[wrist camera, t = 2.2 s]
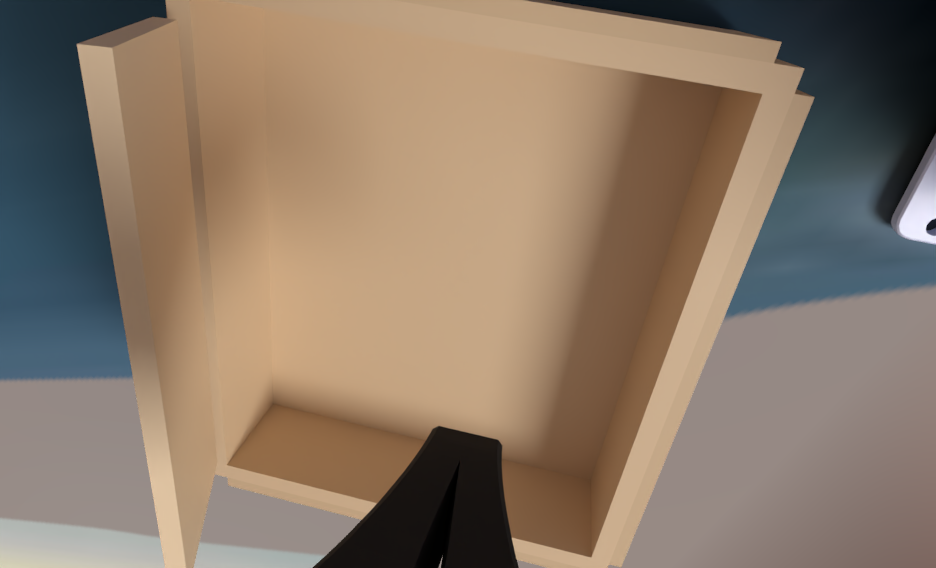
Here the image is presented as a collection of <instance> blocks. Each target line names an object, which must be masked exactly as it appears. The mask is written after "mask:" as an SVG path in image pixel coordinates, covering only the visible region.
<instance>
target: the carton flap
mask: <svg viewBox="0 0 936 568" xmlns="http://www.w3.org/2000/svg"><path fill="white" fill-rule="evenodd" d="M77 49H78V55H79V61H80V67H81V73H82V78H83V84H84V90H85V96H86V102H87V108H88V114H89V120H90V126H91V132H92V138H93V144H94V149H95V155H96V161H97V167H98V173H99V179H100V185H101V191H102V197H103V203H104V209H105V214H106V220H107V226H108V232H109V238H110V244H111V250H112V256H113V262H114V268H115V274H116V280H117V285H118V291H119V297H120V303H121V309H122V315H123V321H124V327H125V333H126V339H127V345H128V350H129V356H130V362H131V368H132V374H133V380H134V386H135V392H136V398H137V403H138V409H139V416H140V421H141V427H142V433H143V439H144V445H145V451H146V457H147V463H148V469H149V474H150V480H151V486H152V492H153V498H154V504H155V510H156V515H157V522H158V528H159V534H160V540H161V546H162V552H163V557H164V563H165V568H193V567H194V563H195V558H196V554H197V550H198V545H199V541H200V536H201V532H202V528H203V523H204V518H205V515H206V510H207V506H208V501H209V497H210V492H211V488H212V484H213V479H214V475H215V471H216V466H217V453H216V442H215V431H214V420H213V409H212V398H211V387H210V376H209V365H208V354H207V343H206V332H205V320H204V309H203V298H202V287H201V276H200V265H199V254H198V243H197V232H196V221H195V210H194V199H193V188H192V177H191V166H190V155H189V144H188V133H187V122H186V111H185V100H184V89H183V77H182V66H181V55H180V44H179V33H178V22H177V20H175V19H167V18H159V17H151V18H148V19H145V20H142V21H140V22H137V23H134V24H131V25H128V26H126V27H123V28H120V29H117V30H114V31H112V32H109V33H106V34H103V35H100V36H97V37H95V38H92V39H89V40H86V41H83V42H81V43H78V44H77Z"/></svg>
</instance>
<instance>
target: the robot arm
mask: <svg viewBox="0 0 936 568" xmlns="http://www.w3.org/2000/svg"><path fill="white" fill-rule="evenodd" d="M935 218H936V134H935V136H934V137H933V139H932V141H931V143H930V145H929V147H928V149H927V151H926V153H925V155H924V157H923V158H922V160H921V162H920V164H919V166H918V168H917V170H916V172H915V174H914V176H913V178H912V180H911V181H910V183H909V185H908V187H907V189H906V191H905V193H904V195H903V197H902V199H901V201H900V202H899V204H898V206H897V208H896V210H895V212H894V214H893V216H892V220H891V225H892V228H893V229H894V231H895V232H896V233H898V234H899V235H900V236H901V237H904V238H906V239H910V240H915V241H920V242H926V243H931V244H936V228H934V229H932V230H926V226H927V224H928V223H929V222H930V221H931V220H933V219H935ZM442 555H443V558H442ZM441 558H442V564H441V568H518V563H517V559H516V555H515V551H514V546H513V542H512V537H511V531H510V526H509V521H508V515H507V510H506V503H505V496H504V487H503V477H502V444H501V443H500V442H499V440H497V439H493V438H488V437H484V436H480V435H476V434H471V433H467V432H463V431H459V430H454V429H450V428H446V427H442V426H437V427H435V428H433V429H432V431H431V433H430V434H429V436H428V438H427V440H426V441H425V443H424V444H423V446H422V447H421V449H420V450H419V452H418V453H417V454H416V456H415V457H414V459H413V460H412V461H411V463H410V464H409V465H408V467H407V468H406V469H405V471H404V472H403V473H402V474H401V476H400V477H399V478H398V479H397V480H396V482H395V483H394V484H393V485H392V486H391V488H390V489H389V490H388V491H387V493H386V494H385V495H384V496H383V497H382V498H381V500H380V501H379V502H378V503H377V504H376V505H375V506H374V507H373V508H372V510H371V511H370V512H369V513H368V514H367V515H366V516H365V517H364V518H363V519H362V520H361V521H360V523H358V524H357V526H355V528H354V529H353V530H352V531H351V532H350V533H349V534H348V535H347V536H346V537H345V538H344V539H343V540H342V541H341V542H340V543H339V544H338V545H337V546H336V547H335V548H333V549H332V550H331V551H330V552H329V553H328V554H327V555H326V556H325V557H324V558H323V559H322V560H320V561H319V562H318V563H317V564H316V565H315V566H314V567H313V568H438V567H439V564H440V561H441Z"/></svg>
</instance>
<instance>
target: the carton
mask: <svg viewBox="0 0 936 568" xmlns="http://www.w3.org/2000/svg"><path fill="white" fill-rule="evenodd" d="M166 10H167V19H175V20H177V22H178V33H179V44H180V55H181V66H182V77H183V89H184V100H185V111H186V122H187V133H188V144H189V155H190V166H191V177H192V188H193V199H194V210H195V221H196V232H197V243H198V254H199V265H200V276H201V287H202V298H203V309H204V320H205V332H206V343H207V354H208V365H209V376H210V387H211V398H212V409H213V420H214V431H215V442H216V453H217V466H216V471H215V474H216V475H220V476H224V477H228V485H229V486H233V487H237V488H240V489H244V490H248V491H252V492H256V493H260V494H264V495H267V496H272V497H275V498H279V499H283V500H287V501H291V502H295V503H299V504H302V505H307V506H311V507H315V508H318V509H322V510H326V511H330V512H334V513H337V514H342V515H345V516H350V517H353V518H357V519H361V520H362V519H363V518H364V517H365V516H366V515H367V514H368V513H369V512H370V511H371V510H372V508H373V507H374V506H375V505H376V504H377V503H378V502H379V501H380V500H381V498H382V497H383V496H384V495H385V494H386V493H387V491H388V490H389V489H390V488H391V486H392V485H393V484H394V483H395V482H396V480H397V479H398V478H399V477H400V476H401V474H402V473H403V472H404V471H405V469H406V468H407V467H408V465H409V464H410V463H411V461H412V460H413V459H414V457H415V456H416V454H417V453H418V452H419V450H420V449H421V447H422V446H423V444H424V443H425V441H426V440H427V438H428V436H429V434H430V433H431V431H432V429H433V428H435V427H437V426H442V427H446V428H450V429H454V430H459V431H463V432H467V433H471V434H476V435H480V436H484V437H488V438H493V439H497V440H499V442H500V443H501V444H502V477H503V487H504V496H505V503H506V510H507V515H508V521H509V526H510V531H511V537H512V542H513V546H514V551H515V555H516V559H517V560H520V561H524V562H528V563H532V564H536V565H540V566H543V567H548V568H608V565H609V564H610V565H614V566H618V567H621V566H622V564H623V561H624V559H625V557H626V554H627V552H628V549H629V547H630V545H631V542H632V540H633V537H634V535H635V532H636V530H637V528H638V525H639V523H640V520H641V518H642V515H643V513H644V511H645V508H646V506H647V503H648V501H649V498H650V496H651V494H652V491H653V489H654V486H655V484H656V481H657V479H658V477H659V474H660V472H661V469H662V467H663V464H664V462H665V460H666V457H667V454H668V452H669V450H670V447H671V445H672V443H673V440H674V438H675V435H676V433H677V430H678V428H679V425H680V423H681V421H682V418H683V416H684V413H685V411H686V409H687V406H688V403H689V401H690V399H691V396H692V394H693V392H694V389H695V387H696V384H697V382H698V379H699V377H700V375H701V372H702V370H703V367H704V365H705V362H706V360H707V358H708V355H709V353H710V350H711V348H712V345H713V343H714V340H715V338H716V336H717V333H718V331H719V328H720V326H721V324H722V321H723V319H724V316H725V314H726V311H727V309H728V307H729V304H730V302H731V299H732V297H733V294H734V292H735V290H736V287H737V285H738V282H739V280H740V277H741V275H742V273H743V270H744V268H745V265H746V263H747V260H748V258H749V256H750V253H751V251H752V248H753V246H754V243H755V241H756V239H757V236H758V234H759V231H760V229H761V226H762V224H763V222H764V219H765V217H766V214H767V212H768V209H769V207H770V205H771V202H772V200H773V197H774V195H775V192H776V190H777V188H778V185H779V183H780V180H781V178H782V175H783V173H784V171H785V168H786V166H787V163H788V161H789V158H790V156H791V154H792V151H793V149H794V146H795V144H796V141H797V139H798V137H799V134H800V132H801V129H802V127H803V124H804V122H805V120H806V117H807V115H808V112H809V110H810V107H811V105H812V103H813V100H814V98H815V97H813V96H810V95H808V94H806V93H804V92H802V91H800V90H797V86H798V84H799V81H800V79H801V76H802V74H803V71H804V69H805V68H802V67H799V66H796V65H793V64H790V63H788V62H785V61H782V60H779V59H776V57H777V54H778V51H779V48H780V46H781V43H782V42H779V41H775V40H771V39H767V38H763V37H760V36H756V35H752V34H748V33H744V32H740V31H735V30H729V29H723V28H717V27H710V26H704V25H698V24H692V23H686V22H679V21H673V20H667V19H661V18H655V17H649V16H642V15H636V14H630V13H624V12H618V11H611V10H605V9H599V8H593V7H587V6H580V5H574V4H568V3H562V2H556V1H550V0H166Z"/></svg>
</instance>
